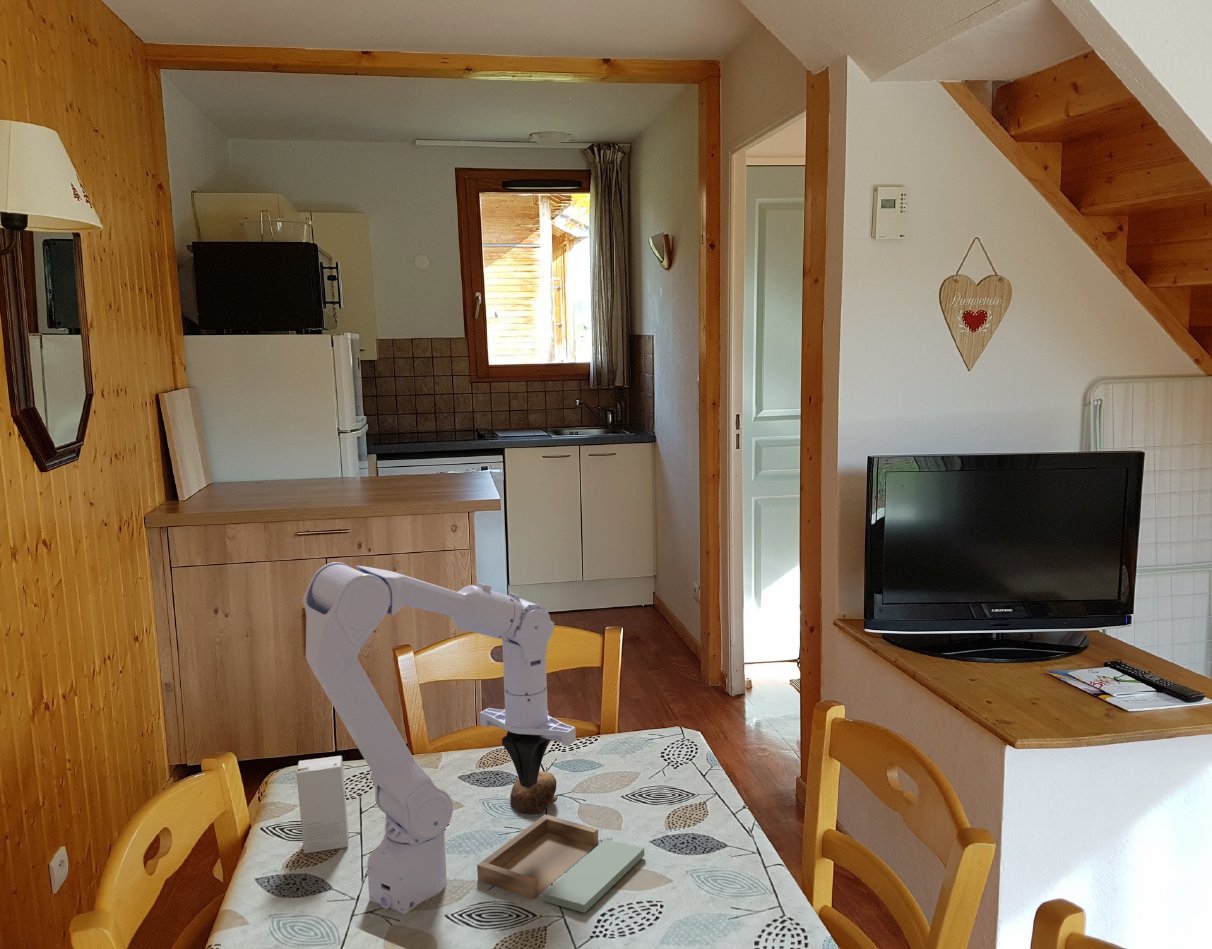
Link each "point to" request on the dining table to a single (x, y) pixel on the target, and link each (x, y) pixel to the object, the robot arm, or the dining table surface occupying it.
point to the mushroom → (534, 794)
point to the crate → (537, 856)
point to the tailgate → (593, 875)
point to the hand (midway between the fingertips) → (528, 784)
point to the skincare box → (322, 804)
